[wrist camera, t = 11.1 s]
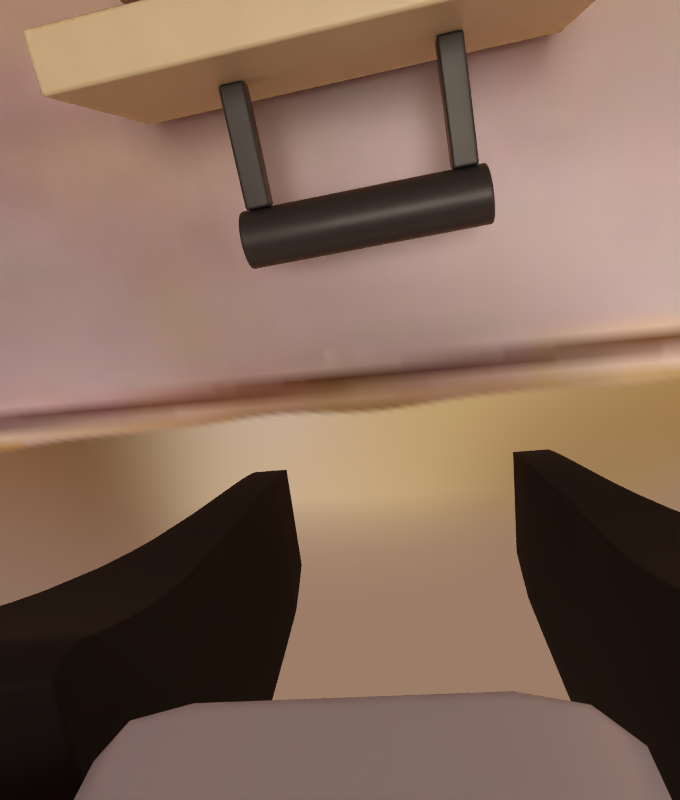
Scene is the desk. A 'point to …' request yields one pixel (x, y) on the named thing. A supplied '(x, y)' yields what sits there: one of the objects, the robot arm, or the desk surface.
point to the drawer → (289, 72)
